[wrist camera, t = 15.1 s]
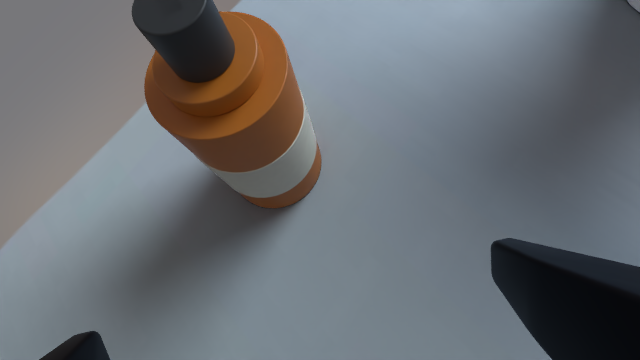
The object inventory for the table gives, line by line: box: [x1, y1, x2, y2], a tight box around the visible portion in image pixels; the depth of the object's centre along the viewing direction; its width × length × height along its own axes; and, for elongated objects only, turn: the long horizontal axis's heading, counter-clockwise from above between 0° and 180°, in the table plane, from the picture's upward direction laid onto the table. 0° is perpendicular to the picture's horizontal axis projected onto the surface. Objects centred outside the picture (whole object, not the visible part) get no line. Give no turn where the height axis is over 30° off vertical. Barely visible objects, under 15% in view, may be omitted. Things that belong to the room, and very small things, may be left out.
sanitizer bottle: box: [132, 0, 321, 208], centre depth 18 cm, size 6×6×14 cm
